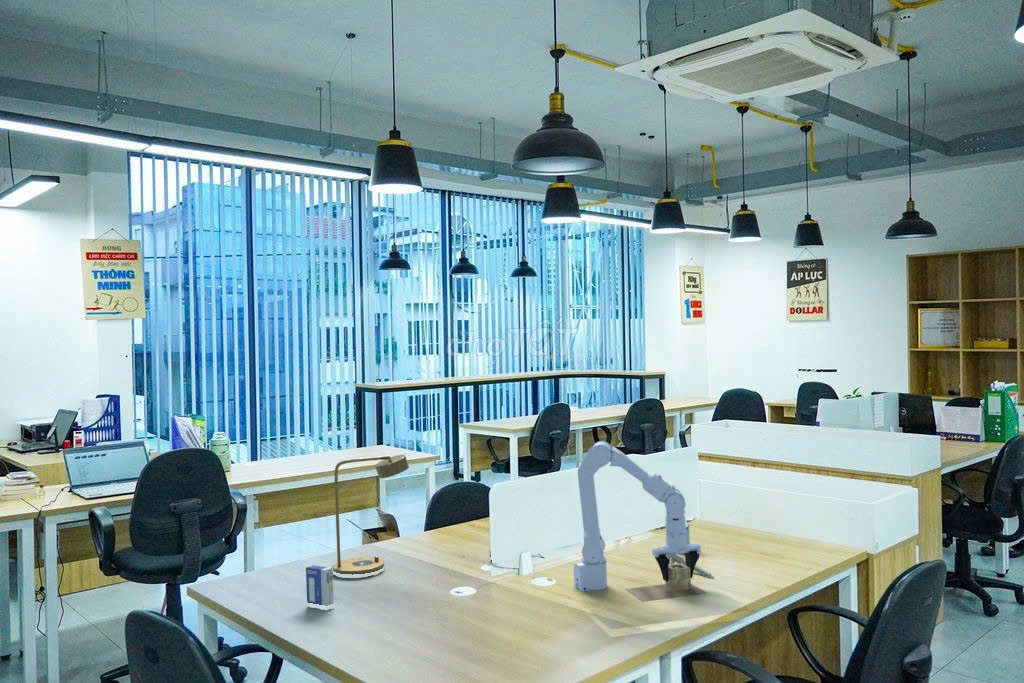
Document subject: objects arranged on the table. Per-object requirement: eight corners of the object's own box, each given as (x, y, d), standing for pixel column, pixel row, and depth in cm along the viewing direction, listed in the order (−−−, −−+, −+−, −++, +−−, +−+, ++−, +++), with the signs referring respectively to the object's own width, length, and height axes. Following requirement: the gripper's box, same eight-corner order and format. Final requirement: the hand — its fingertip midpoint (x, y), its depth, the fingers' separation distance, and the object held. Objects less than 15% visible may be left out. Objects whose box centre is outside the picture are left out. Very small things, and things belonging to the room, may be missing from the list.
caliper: (666, 565, 254) (665, 546, 254) (668, 565, 255) (667, 545, 255) (712, 579, 237) (711, 559, 237) (714, 579, 237) (713, 558, 237)
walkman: (307, 607, 224) (305, 566, 224) (313, 605, 226) (312, 563, 226) (327, 611, 220) (325, 569, 220) (334, 608, 222) (332, 566, 222)
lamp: (418, 569, 259) (414, 456, 259) (337, 582, 248) (333, 463, 249) (405, 558, 275) (401, 451, 275) (328, 569, 264) (324, 458, 265)
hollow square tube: (674, 590, 222) (673, 570, 222) (665, 585, 227) (664, 565, 227) (691, 588, 223) (690, 567, 223) (682, 583, 228) (681, 563, 228)
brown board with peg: (642, 607, 213) (641, 580, 213) (625, 594, 225) (624, 568, 225) (707, 598, 219) (706, 572, 219) (687, 586, 230) (686, 561, 230)
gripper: (659, 537, 220) (661, 585, 219) (705, 532, 223) (707, 579, 223) (648, 532, 226) (650, 578, 226) (693, 527, 230) (695, 573, 230)
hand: (677, 578), depth 225 cm, fingers open, 7 cm apart
